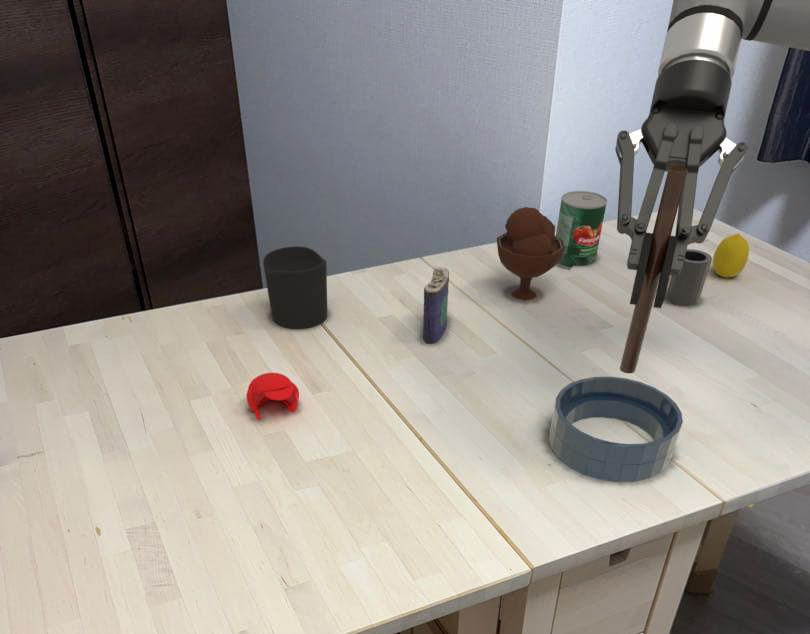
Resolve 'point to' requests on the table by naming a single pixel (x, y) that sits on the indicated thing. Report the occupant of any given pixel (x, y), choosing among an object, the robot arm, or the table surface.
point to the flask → (435, 305)
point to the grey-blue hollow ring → (624, 404)
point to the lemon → (731, 256)
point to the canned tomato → (580, 227)
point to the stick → (653, 265)
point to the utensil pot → (689, 279)
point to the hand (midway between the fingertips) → (646, 301)
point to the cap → (272, 392)
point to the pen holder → (296, 287)
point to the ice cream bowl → (529, 248)
